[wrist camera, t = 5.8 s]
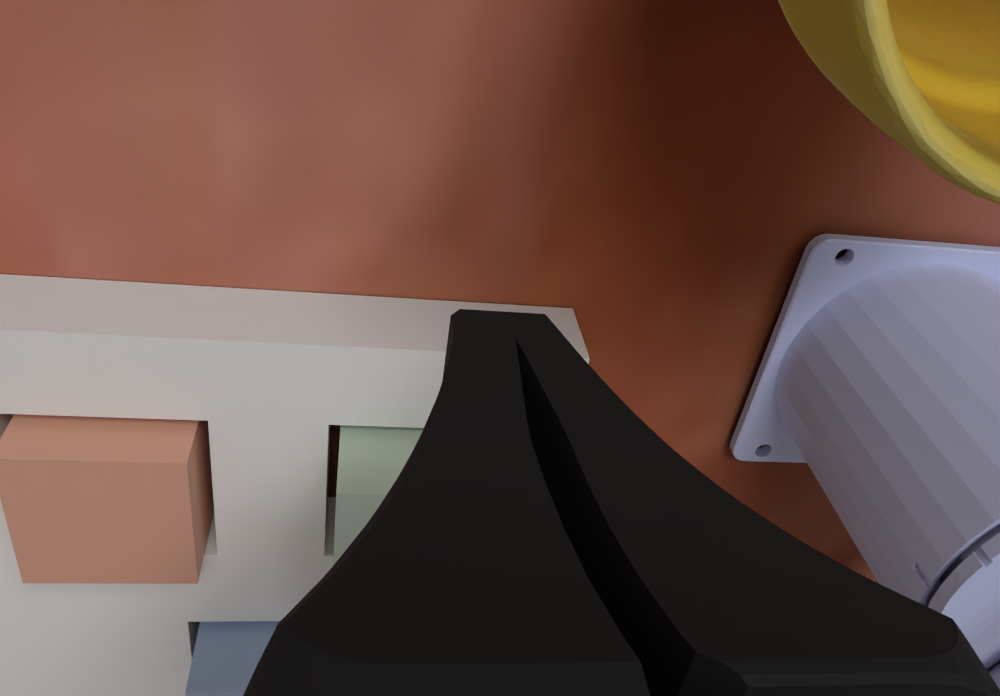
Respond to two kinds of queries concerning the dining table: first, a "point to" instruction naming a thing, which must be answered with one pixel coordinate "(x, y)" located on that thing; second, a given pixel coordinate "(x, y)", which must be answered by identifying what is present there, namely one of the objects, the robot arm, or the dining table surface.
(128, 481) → the terracotta button
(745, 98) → the dining table surface
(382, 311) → the white button panel
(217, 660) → the slate button
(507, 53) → the dining table surface
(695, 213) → the dining table surface
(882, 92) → the plant pot
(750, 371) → the dining table surface
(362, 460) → the sage button
